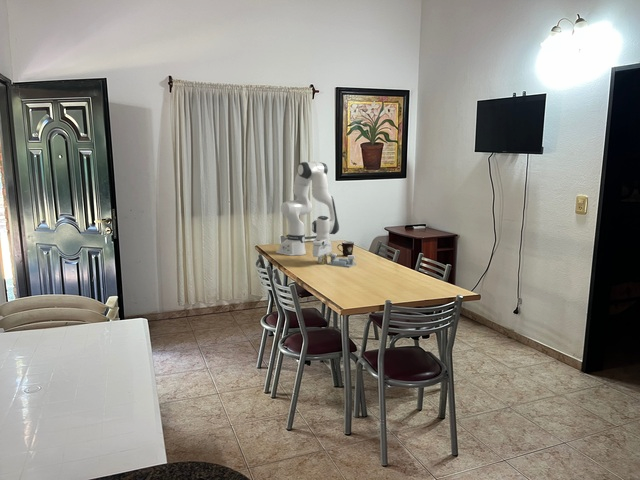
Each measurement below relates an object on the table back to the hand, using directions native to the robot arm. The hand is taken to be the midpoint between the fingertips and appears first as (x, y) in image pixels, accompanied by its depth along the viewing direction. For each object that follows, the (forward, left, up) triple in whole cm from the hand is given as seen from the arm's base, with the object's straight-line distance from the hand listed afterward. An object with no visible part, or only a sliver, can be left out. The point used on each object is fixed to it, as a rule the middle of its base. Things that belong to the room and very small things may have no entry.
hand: (322, 261), depth 332 cm
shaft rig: (+12, +5, -2) cm, 13 cm away
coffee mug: (+2, +31, -2) cm, 31 cm away
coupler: (0, 0, -2) cm, 2 cm away
